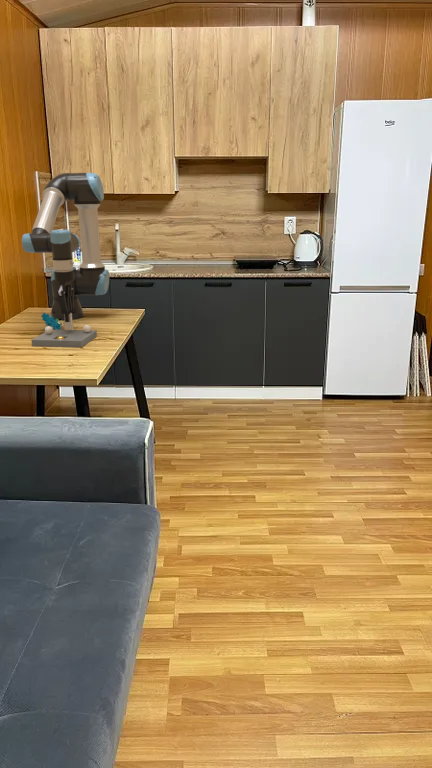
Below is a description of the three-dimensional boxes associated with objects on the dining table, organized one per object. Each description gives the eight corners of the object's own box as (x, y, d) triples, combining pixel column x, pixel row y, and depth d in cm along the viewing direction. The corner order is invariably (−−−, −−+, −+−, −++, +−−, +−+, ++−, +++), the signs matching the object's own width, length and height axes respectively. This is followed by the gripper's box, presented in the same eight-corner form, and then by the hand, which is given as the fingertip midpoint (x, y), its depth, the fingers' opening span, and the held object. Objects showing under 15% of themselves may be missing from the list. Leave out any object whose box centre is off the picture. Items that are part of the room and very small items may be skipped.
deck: (50, 335, 234) (50, 329, 233) (96, 336, 232) (96, 330, 231) (32, 346, 217) (31, 339, 216) (81, 347, 215) (81, 341, 214)
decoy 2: (84, 331, 229) (84, 323, 228) (92, 331, 229) (91, 324, 228) (82, 333, 226) (81, 325, 225) (89, 333, 226) (89, 325, 225)
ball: (57, 345, 220) (59, 339, 222) (65, 345, 220) (66, 339, 221) (54, 341, 217) (56, 334, 219) (62, 341, 217) (64, 334, 219)
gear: (55, 329, 236) (39, 312, 236) (46, 339, 238) (30, 322, 238) (67, 327, 247) (52, 311, 247) (58, 336, 249) (43, 320, 249)
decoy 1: (47, 332, 227) (46, 325, 226) (54, 333, 227) (53, 325, 226) (43, 334, 224) (42, 326, 223) (51, 335, 224) (50, 327, 223)
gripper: (66, 272, 214) (72, 333, 221) (78, 268, 226) (83, 325, 234) (47, 272, 215) (54, 332, 222) (61, 268, 227) (66, 325, 235)
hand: (69, 329), depth 228 cm, fingers closed
